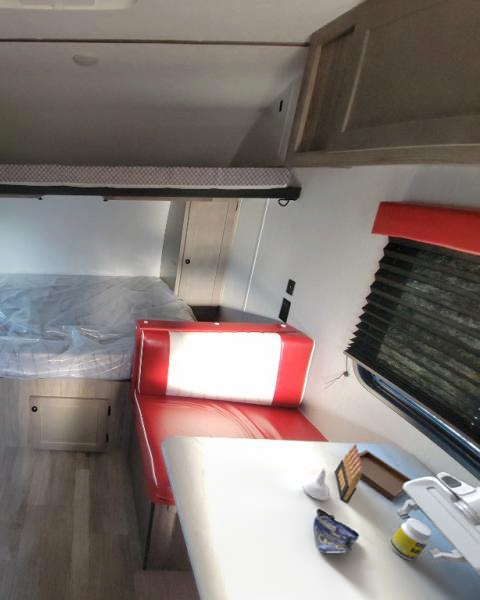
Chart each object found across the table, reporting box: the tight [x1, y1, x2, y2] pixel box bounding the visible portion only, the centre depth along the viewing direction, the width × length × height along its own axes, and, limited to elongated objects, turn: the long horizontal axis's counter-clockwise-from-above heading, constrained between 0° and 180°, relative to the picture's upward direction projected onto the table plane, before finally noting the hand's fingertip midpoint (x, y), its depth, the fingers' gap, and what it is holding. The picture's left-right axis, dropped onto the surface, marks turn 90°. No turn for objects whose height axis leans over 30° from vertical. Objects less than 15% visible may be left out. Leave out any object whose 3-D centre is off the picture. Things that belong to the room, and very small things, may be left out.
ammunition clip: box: [334, 444, 363, 504], centre depth 92 cm, size 11×2×12 cm, turn 150°
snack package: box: [313, 508, 360, 554], centre depth 79 cm, size 12×6×12 cm
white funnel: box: [301, 467, 331, 501], centre depth 90 cm, size 6×6×8 cm
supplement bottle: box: [389, 517, 432, 561], centre depth 77 cm, size 5×5×8 cm
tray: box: [358, 449, 412, 502], centre depth 98 cm, size 12×12×2 cm
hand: (414, 534), depth 76 cm, fingers open, 8 cm apart
